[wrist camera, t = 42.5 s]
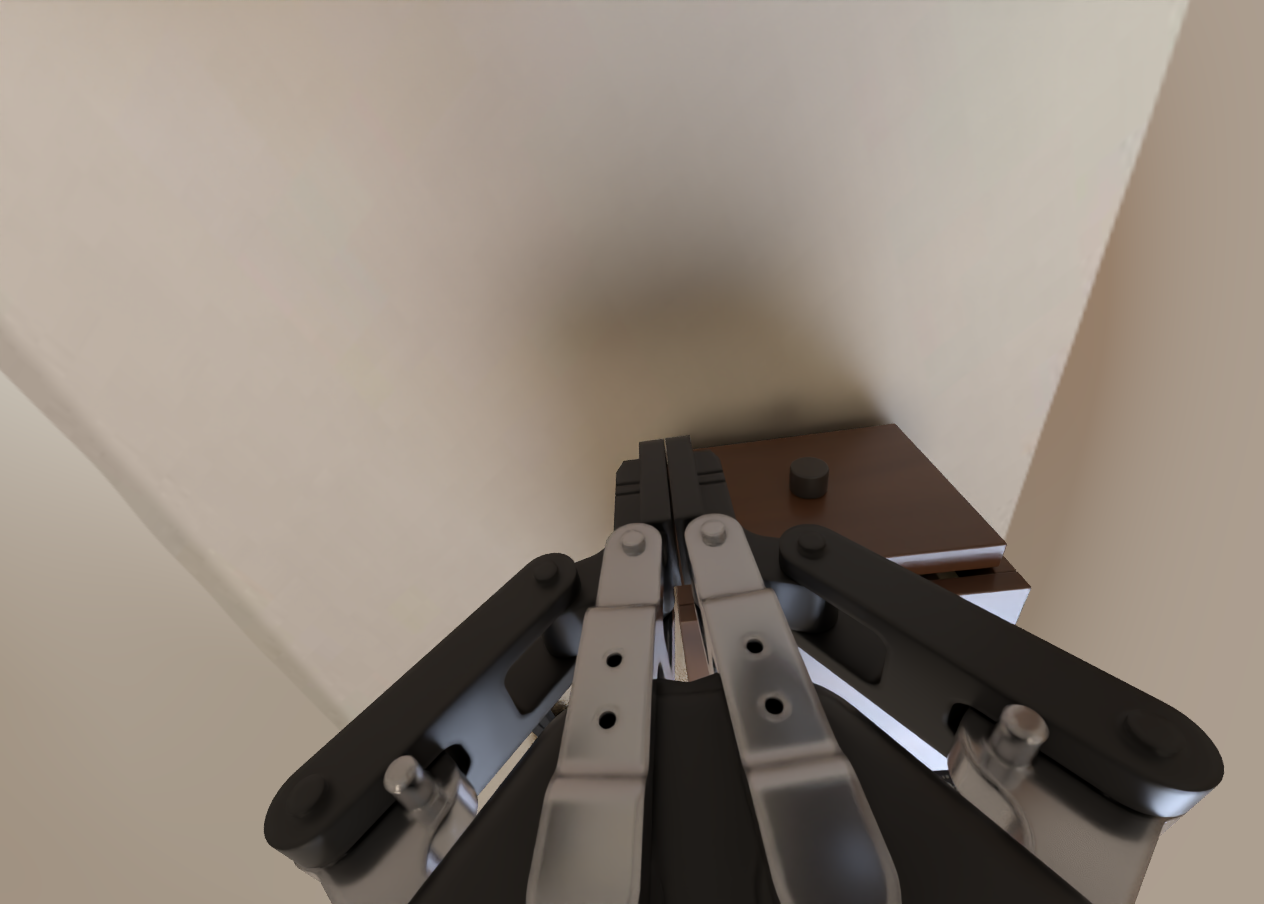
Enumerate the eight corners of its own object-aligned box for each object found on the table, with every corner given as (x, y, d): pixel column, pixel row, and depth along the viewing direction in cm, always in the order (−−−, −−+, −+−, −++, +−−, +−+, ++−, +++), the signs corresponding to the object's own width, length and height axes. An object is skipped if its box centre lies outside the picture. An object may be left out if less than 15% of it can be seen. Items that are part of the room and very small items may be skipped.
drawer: (670, 431, 25) (686, 555, 18) (898, 401, 24) (1018, 518, 17) (692, 606, 32) (710, 745, 25) (868, 588, 31) (941, 727, 24)
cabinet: (663, 463, 27) (679, 622, 18) (895, 434, 26) (1032, 587, 17) (686, 619, 34) (704, 787, 25) (867, 601, 33) (953, 769, 24)
